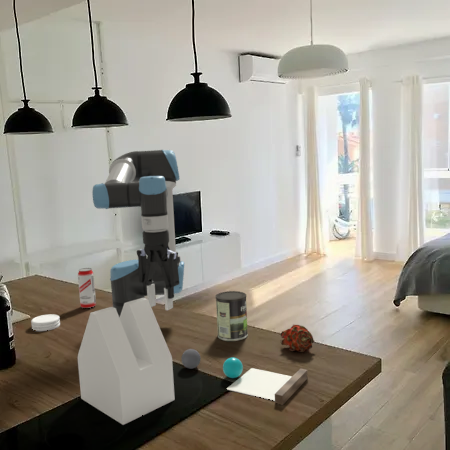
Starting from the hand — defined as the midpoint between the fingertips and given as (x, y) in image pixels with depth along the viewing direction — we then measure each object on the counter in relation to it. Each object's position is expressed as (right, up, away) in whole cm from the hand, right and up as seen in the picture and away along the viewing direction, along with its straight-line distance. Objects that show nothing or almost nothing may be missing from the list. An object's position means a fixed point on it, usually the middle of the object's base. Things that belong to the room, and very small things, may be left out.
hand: (160, 307), depth 149 cm
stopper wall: (+36, -18, -19) cm, 45 cm away
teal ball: (+21, -15, -10) cm, 28 cm away
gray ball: (+9, -14, -3) cm, 17 cm away
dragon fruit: (+41, -14, +7) cm, 44 cm away
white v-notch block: (-6, -21, -20) cm, 29 cm away
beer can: (-38, -10, +60) cm, 72 cm away
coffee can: (+22, -13, +21) cm, 33 cm away
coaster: (-47, -14, +39) cm, 63 cm away
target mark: (+29, -18, -15) cm, 37 cm away
